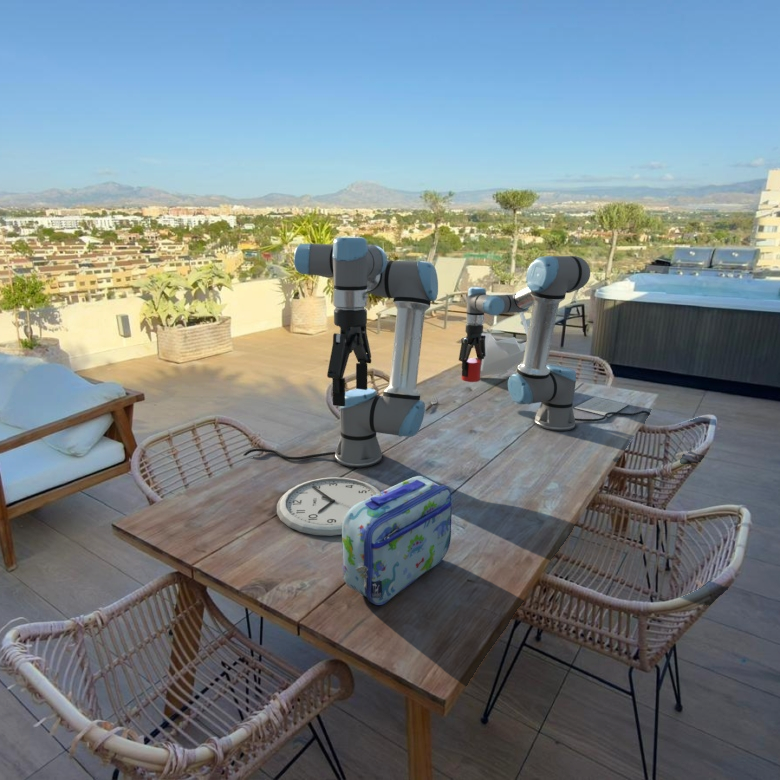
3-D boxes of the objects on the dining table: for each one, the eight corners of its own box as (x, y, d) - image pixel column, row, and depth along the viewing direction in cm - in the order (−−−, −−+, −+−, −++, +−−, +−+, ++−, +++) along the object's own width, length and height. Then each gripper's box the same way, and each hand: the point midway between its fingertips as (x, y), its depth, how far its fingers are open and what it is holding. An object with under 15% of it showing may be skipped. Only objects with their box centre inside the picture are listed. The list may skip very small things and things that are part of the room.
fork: (422, 411, 216) (422, 407, 215) (433, 400, 230) (433, 396, 230) (428, 412, 215) (429, 407, 215) (438, 401, 230) (439, 396, 229)
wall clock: (392, 527, 129) (268, 531, 127) (391, 533, 130) (269, 537, 127) (383, 473, 158) (282, 475, 155) (383, 478, 158) (282, 480, 156)
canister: (483, 381, 231) (484, 362, 228) (466, 382, 228) (467, 363, 226) (474, 376, 238) (476, 358, 236) (458, 377, 236) (459, 359, 233)
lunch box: (371, 618, 102) (371, 524, 95) (336, 591, 109) (334, 502, 103) (455, 562, 119) (460, 479, 113) (420, 542, 126) (423, 463, 120)
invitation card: (608, 416, 214) (573, 407, 224) (608, 416, 214) (573, 408, 224) (628, 404, 229) (594, 396, 238) (628, 405, 229) (594, 397, 238)
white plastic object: (487, 418, 267) (468, 395, 242) (469, 346, 289) (449, 318, 264) (558, 394, 255) (545, 368, 230) (533, 321, 277) (518, 289, 252)
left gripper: (342, 317, 106) (343, 415, 112) (384, 302, 129) (383, 384, 135) (309, 314, 108) (312, 411, 115) (356, 300, 131) (356, 381, 137)
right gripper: (483, 320, 235) (479, 368, 242) (451, 325, 222) (449, 376, 228) (496, 322, 230) (492, 372, 237) (465, 327, 216) (462, 380, 223)
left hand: (350, 396), depth 125 cm, fingers open, 13 cm apart
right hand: (471, 374), depth 232 cm, fingers closed on canister, 8 cm apart
